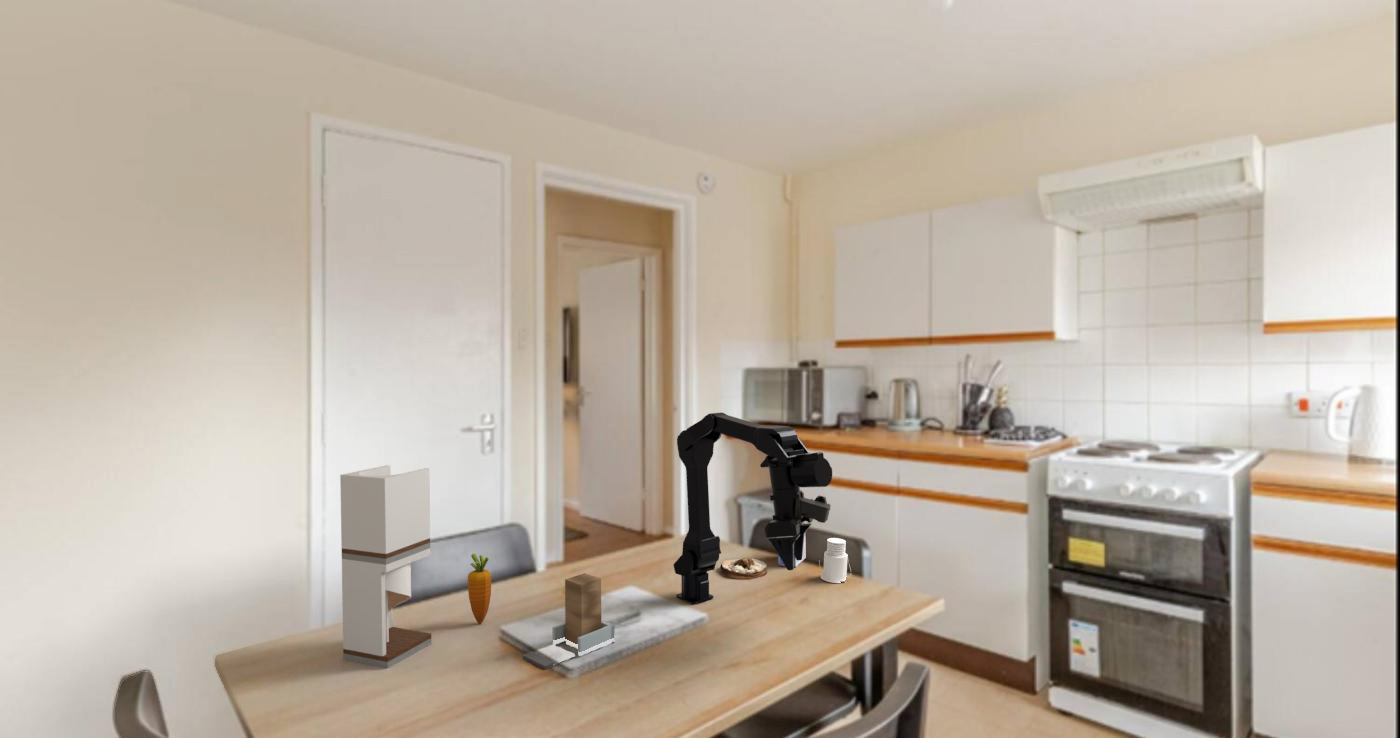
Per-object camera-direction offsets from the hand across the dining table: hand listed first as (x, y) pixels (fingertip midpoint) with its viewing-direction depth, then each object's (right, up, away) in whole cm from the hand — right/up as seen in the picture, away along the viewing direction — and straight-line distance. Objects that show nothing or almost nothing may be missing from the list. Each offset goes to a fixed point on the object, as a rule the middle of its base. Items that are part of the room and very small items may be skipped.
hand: (795, 564), depth 143 cm
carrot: (-66, -15, +6) cm, 68 cm away
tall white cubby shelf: (-80, -15, -7) cm, 81 cm away
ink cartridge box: (+6, -13, +49) cm, 52 cm away
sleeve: (-45, -15, -7) cm, 48 cm away
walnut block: (-43, -15, -4) cm, 45 cm away
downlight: (+15, -14, +35) cm, 40 cm away
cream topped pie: (-8, -14, +41) cm, 44 cm away
